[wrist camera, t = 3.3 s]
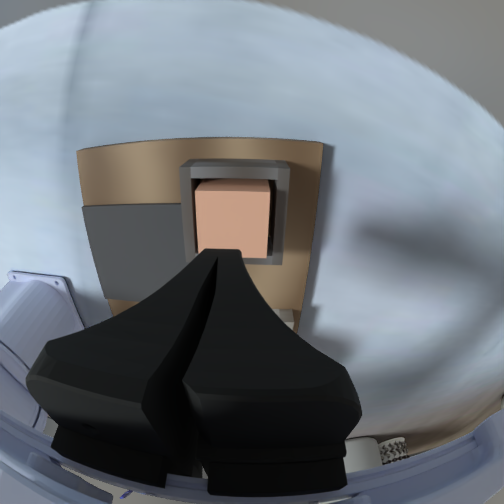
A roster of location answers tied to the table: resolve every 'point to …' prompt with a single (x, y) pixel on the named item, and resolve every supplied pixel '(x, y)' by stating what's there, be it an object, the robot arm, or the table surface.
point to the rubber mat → (135, 247)
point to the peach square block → (233, 215)
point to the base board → (220, 166)
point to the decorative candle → (393, 450)
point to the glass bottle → (502, 403)
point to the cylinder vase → (360, 456)
